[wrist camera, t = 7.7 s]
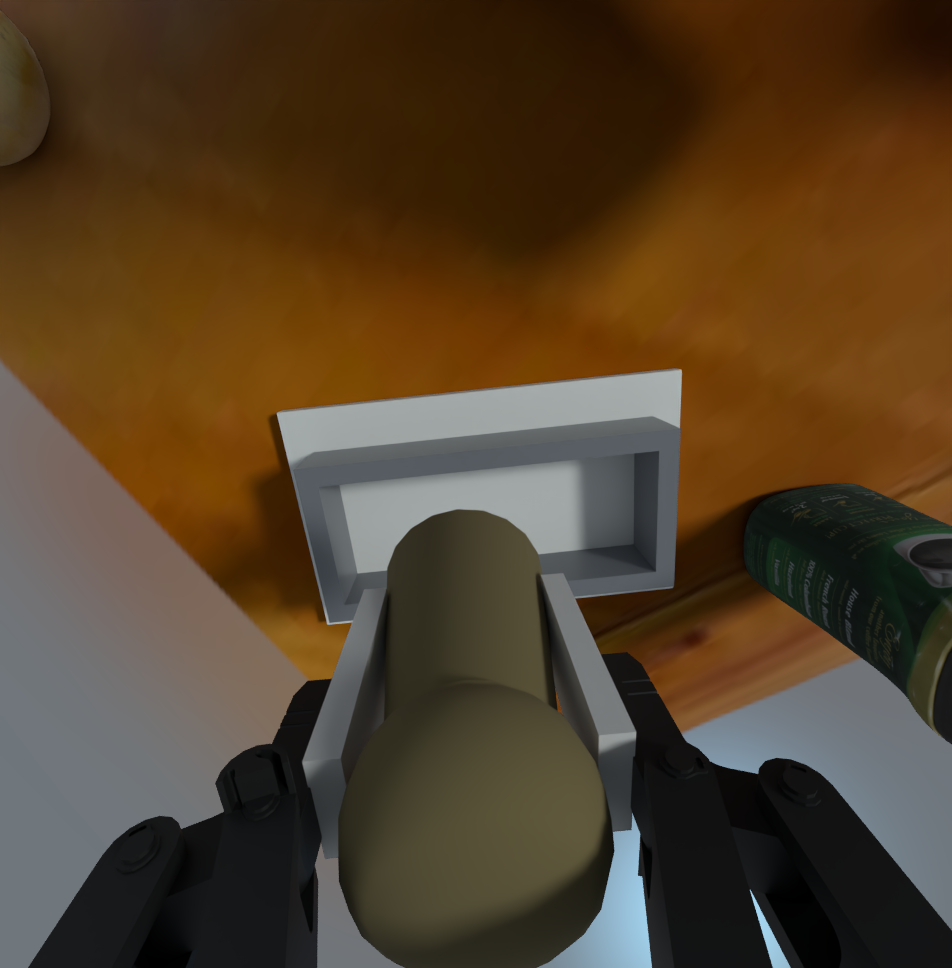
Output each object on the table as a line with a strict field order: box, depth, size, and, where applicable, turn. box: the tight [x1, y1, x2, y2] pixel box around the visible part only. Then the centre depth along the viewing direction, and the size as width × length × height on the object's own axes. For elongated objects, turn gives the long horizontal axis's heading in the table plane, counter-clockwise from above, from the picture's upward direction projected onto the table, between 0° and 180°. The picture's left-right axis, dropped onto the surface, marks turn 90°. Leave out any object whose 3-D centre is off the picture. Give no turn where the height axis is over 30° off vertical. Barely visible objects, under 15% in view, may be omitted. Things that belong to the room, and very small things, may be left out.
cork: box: [338, 509, 614, 968], centre depth 13 cm, size 6×6×11 cm
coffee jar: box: [743, 483, 952, 744], centre depth 26 cm, size 10×8×19 cm
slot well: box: [277, 368, 682, 625], centre depth 31 cm, size 26×16×5 cm, turn 96°
